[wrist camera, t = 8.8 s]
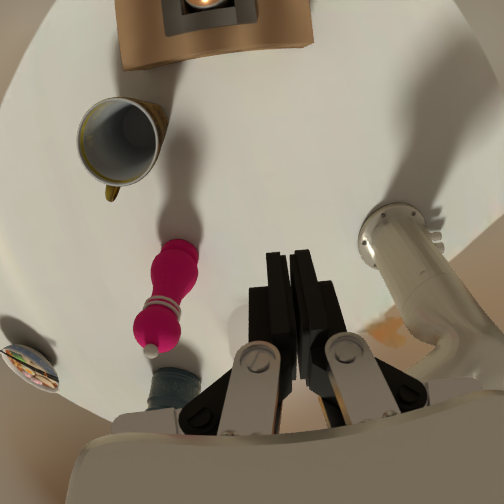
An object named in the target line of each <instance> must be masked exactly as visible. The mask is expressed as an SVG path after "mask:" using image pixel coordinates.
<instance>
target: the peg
mask: <svg viewBox="0 0 504 504" xmlns="http://www.w3.org/2000/svg"><path fill="white" fill-rule="evenodd" d="M186 1H187V2H188V3H189V4H190V5H191V6H192V7H193V8H194V9H195V10H196V11H197V12H202V11H208V10H214V9H221V8H228V7H233V1H232V0H186Z"/></svg>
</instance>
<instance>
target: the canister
mask: <svg viewBox="0 0 504 504" xmlns="http://www.w3.org/2000/svg"><path fill="white" fill-rule="evenodd" d="M200 384H201V383H200V380H199V379H198V378H197V377H196V376H195V375H193V374H192V373H190V372H187V371H184V370H181V369H176V368H162V369H159V370H157V371H156V372H155V373H154V375H153V377H152V385H151V389H150V394H149V398H148V400H147V403H148V409H146V410H145V411H151V410H159V409H165V408H172V407H173V408H174V409H180V408H183V407H184V406H185V405H186V404H187V403H189V402H190V401H191V400H193V399H194V398H195V397H197V396H198V395H199V394H200V392H201V385H200Z"/></svg>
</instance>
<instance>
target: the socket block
mask: <svg viewBox="0 0 504 504" xmlns="http://www.w3.org/2000/svg"><path fill="white" fill-rule="evenodd" d="M234 2H235V7H228V8H221V9H214V10H208V11H202V12H197V13H195V12H194V8H193V7H192V6H191V5H190V4H189V3H188V2H187V1H186V0H115V10H116V20H117V29H118V37H119V45H120V52H121V59H122V65H123V71H132V70H146V69H150V68H154V67H158V66H162V65H166V64H171V63H175V62H180V61H184V60H189V59H195V58H200V57H206V56H212V55H219V54H226V53H234V52H242V51H252V50H264V49H281V48H303V47H306V46H308V45H310V44H312V43H314V38H313V29H312V21H311V13H310V5H309V0H234Z"/></svg>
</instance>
